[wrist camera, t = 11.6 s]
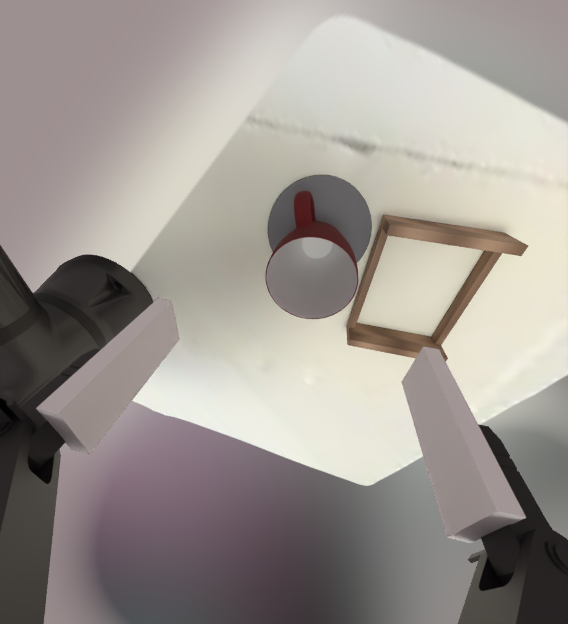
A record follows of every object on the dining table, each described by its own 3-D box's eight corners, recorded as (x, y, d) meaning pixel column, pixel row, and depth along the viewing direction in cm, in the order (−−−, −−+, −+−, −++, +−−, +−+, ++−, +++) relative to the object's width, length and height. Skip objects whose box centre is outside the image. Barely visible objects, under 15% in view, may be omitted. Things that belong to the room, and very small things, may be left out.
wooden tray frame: (346, 326, 36) (347, 344, 33) (383, 214, 27) (389, 224, 23) (433, 343, 35) (443, 363, 32) (504, 232, 26) (528, 245, 22)
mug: (265, 200, 27) (236, 224, 19) (336, 171, 25) (337, 185, 17) (297, 280, 32) (284, 326, 24) (359, 264, 30) (367, 309, 22)
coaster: (266, 269, 33) (265, 271, 32) (272, 167, 26) (271, 168, 25) (354, 284, 32) (354, 287, 31) (386, 183, 25) (387, 184, 24)
